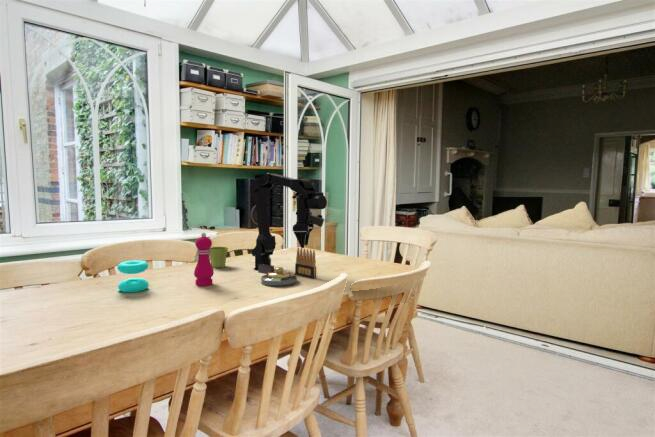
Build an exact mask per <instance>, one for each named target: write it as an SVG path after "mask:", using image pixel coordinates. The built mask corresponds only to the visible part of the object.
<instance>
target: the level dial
mask: <svg viewBox="0 0 655 437" xmlns="http://www.w3.org/2000/svg"><path fill="white" fill-rule="evenodd" d="M257 271H258V272H257V273H259V274H264V275H267V274H268V278H270V279H272V278H281V279H288V278H290V277H291V271H288V270H284V267H281V266H277V267H275V265H272V264H271V265H266V264H258V270H257Z"/></svg>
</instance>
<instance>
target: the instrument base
mask: <svg viewBox="0 0 655 437" xmlns="http://www.w3.org/2000/svg"><path fill="white" fill-rule="evenodd" d="M297 279H298V277H297V275H295V274H291V277H290V278H288V279H281V278H272V279H270V278H268V274H264V275H262V276H261V281H260V282H261V284H262V285H264V286H265V287H271V288H272V287H273V288H285V287H286V288H287V287H292V286H295V285H296V284H297V282H298V280H297Z"/></svg>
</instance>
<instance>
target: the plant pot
mask: <svg viewBox="0 0 655 437" xmlns="http://www.w3.org/2000/svg"><path fill="white" fill-rule="evenodd" d="M228 250H229V247H228V246H211V247H210V252H211V253H209V259H210V263H211V265H212V267H213V269H215V268H216V269H218V268H225V266H226V262H227V261H226V260H227V255H228V254H227V253H228Z"/></svg>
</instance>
